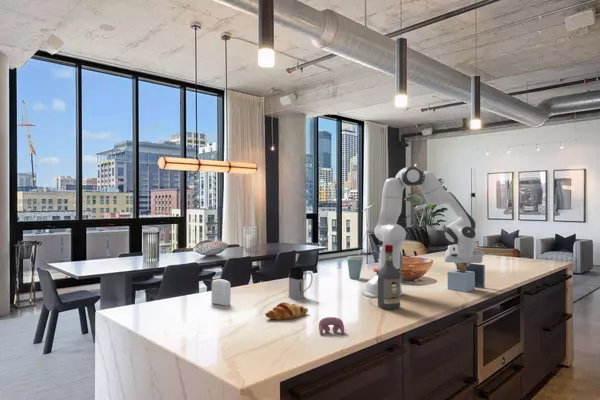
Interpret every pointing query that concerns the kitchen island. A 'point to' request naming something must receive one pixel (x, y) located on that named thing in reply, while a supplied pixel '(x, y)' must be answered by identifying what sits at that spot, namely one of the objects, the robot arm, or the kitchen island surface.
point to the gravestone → (221, 292)
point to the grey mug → (297, 283)
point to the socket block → (461, 281)
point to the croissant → (286, 311)
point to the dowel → (462, 267)
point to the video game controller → (331, 321)
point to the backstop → (477, 274)
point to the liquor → (388, 283)
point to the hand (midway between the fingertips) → (461, 265)
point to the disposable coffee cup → (354, 266)
